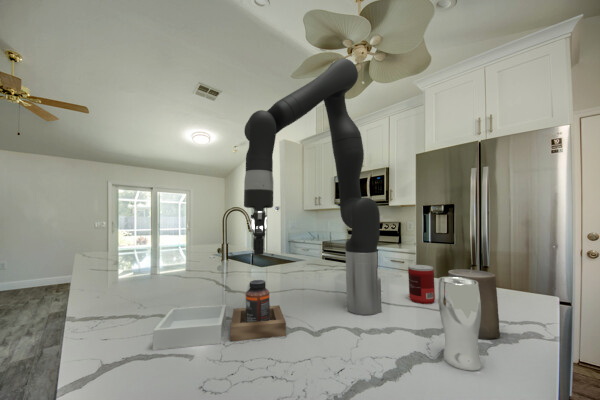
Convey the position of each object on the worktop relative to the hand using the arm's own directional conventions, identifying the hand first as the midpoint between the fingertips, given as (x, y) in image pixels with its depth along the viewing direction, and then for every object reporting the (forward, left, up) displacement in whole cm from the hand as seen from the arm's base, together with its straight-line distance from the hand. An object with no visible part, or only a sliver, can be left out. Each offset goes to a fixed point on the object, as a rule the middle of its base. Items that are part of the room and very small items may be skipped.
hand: (258, 252), depth 66 cm
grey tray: (+15, 0, -19) cm, 24 cm away
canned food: (-54, -10, -19) cm, 58 cm away
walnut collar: (0, 0, -19) cm, 19 cm away
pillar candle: (-51, +13, -19) cm, 56 cm away
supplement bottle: (0, 0, -19) cm, 19 cm away
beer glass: (-37, +24, -19) cm, 48 cm away
